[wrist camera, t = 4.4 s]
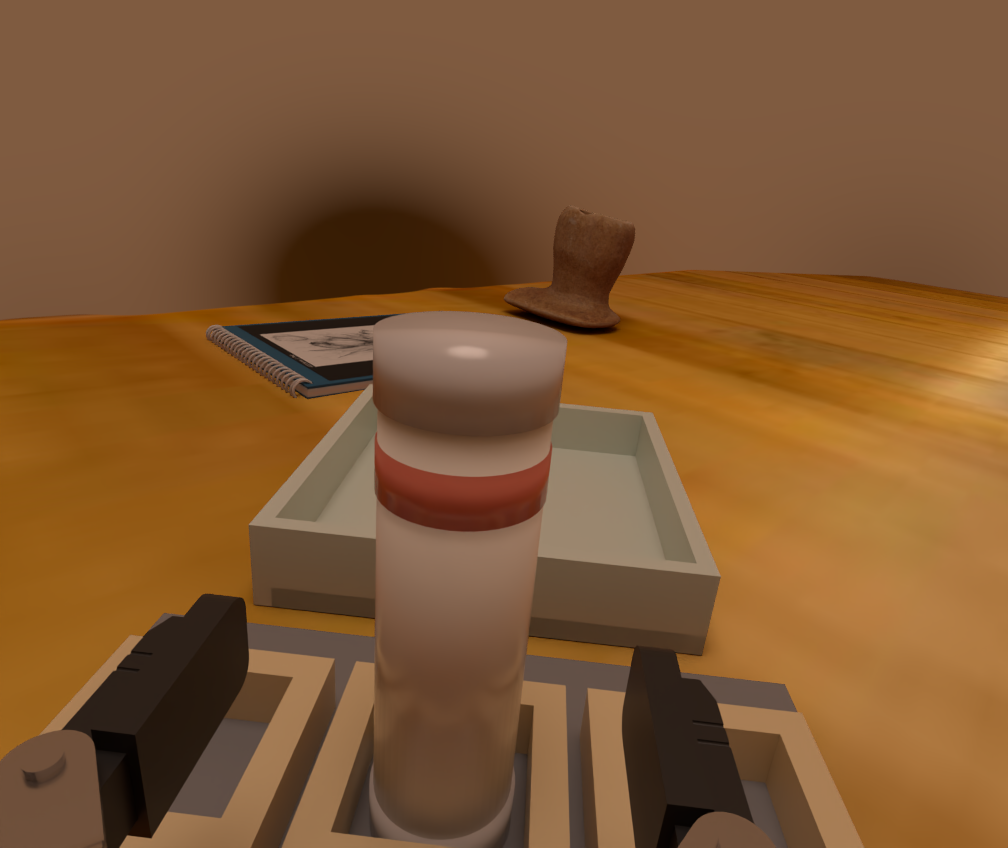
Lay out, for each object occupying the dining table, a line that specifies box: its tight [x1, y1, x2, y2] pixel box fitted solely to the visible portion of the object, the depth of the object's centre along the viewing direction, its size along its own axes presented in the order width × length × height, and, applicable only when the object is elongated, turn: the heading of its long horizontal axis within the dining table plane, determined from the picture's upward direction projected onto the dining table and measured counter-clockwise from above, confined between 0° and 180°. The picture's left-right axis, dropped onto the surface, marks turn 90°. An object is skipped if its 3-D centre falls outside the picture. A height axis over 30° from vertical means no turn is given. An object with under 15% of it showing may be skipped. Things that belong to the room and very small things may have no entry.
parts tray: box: [249, 384, 721, 655], centre depth 37 cm, size 20×20×4 cm
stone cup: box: [504, 205, 635, 328], centre depth 88 cm, size 15×12×15 cm
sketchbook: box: [206, 314, 401, 399], centre depth 70 cm, size 22×30×2 cm
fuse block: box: [40, 613, 864, 848], centre depth 19 cm, size 24×14×4 cm, turn 86°
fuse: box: [369, 311, 567, 848], centre depth 16 cm, size 4×4×14 cm
